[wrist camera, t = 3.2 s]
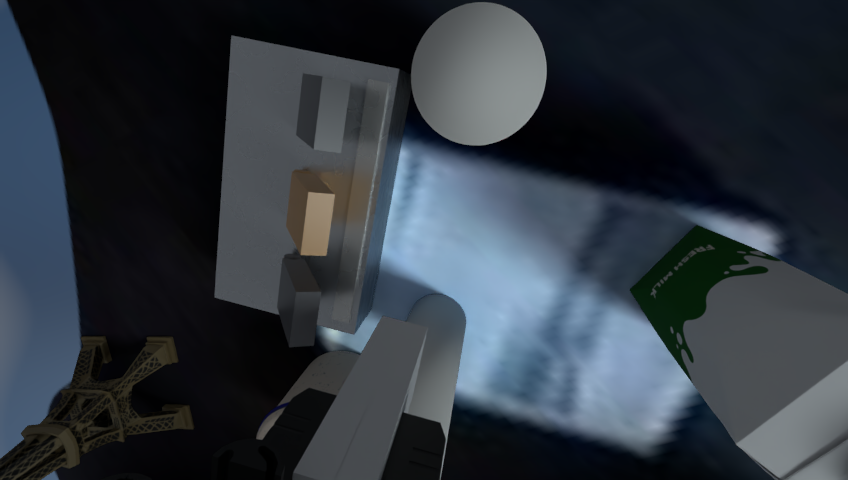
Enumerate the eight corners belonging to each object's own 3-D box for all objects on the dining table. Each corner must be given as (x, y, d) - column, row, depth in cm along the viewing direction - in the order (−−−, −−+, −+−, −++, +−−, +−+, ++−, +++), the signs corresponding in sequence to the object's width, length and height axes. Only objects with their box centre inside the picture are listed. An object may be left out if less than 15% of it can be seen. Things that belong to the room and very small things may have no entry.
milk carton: (696, 357, 36) (914, 622, 17) (610, 289, 36) (735, 481, 17) (787, 280, 34) (1164, 492, 15) (695, 206, 33) (956, 323, 14)
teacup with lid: (284, 368, 43) (210, 454, 32) (361, 331, 41) (309, 411, 30) (349, 465, 45) (300, 578, 34) (426, 435, 42) (400, 547, 31)
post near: (530, 69, 33) (563, 15, 16) (513, 138, 34) (526, 157, 17) (463, 57, 33) (425, -9, 16) (449, 124, 35) (400, 130, 17)
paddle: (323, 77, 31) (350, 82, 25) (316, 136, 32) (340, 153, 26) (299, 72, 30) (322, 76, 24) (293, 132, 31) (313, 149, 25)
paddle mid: (312, 171, 32) (335, 194, 27) (305, 223, 34) (326, 255, 28) (289, 168, 32) (308, 191, 26) (283, 221, 33) (300, 255, 27)
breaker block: (413, 75, 34) (398, 68, 29) (371, 308, 40) (352, 336, 35) (267, 46, 35) (228, 34, 30) (247, 276, 41) (212, 298, 36)
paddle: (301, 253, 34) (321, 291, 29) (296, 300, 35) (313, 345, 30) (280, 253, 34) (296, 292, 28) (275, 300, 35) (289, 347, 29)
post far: (471, 302, 38) (449, 451, 21) (459, 352, 40) (428, 530, 22) (415, 288, 39) (348, 422, 22) (405, 338, 40) (334, 501, 23)
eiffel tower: (173, 336, 44) (-204, 587, 21) (194, 427, 47) (-117, 742, 23) (83, 335, 46) (-358, 565, 22) (109, 423, 49) (-261, 711, 25)
